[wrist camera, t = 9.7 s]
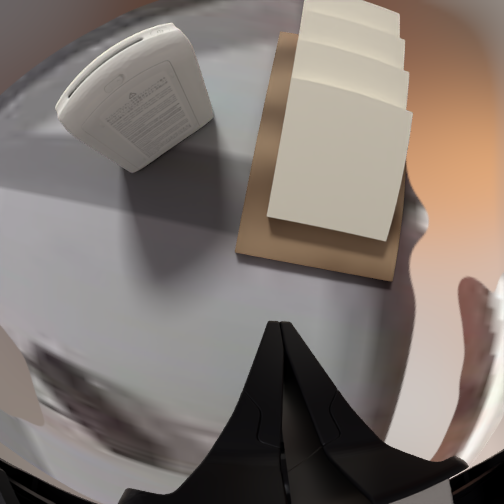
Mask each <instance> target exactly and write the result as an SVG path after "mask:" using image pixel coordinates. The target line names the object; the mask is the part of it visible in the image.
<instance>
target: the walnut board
mask: <svg viewBox="0 0 504 504" xmlns="http://www.w3.org/2000/svg"><path fill="white" fill-rule="evenodd" d="M298 37H299V35H298V34H292V33H286V32H280V35H279V40H278V44H277V49H276V53H275V58H274V62H273V67H272V71H271V76H270V80H269V85H268V89H267V94H266V99H265V103H264V108H263V113H262V118H261V122H260V127H259V132H258V137H257V142H256V146H255V151H254V156H253V161H252V166H251V171H250V176H249V181H248V186H247V191H246V196H245V202H244V207H243V212H242V217H241V222H240V227H239V233H238V238H237V243H236V249H235V253H241V254H246V255H251V256H257V257H262V258H267V259H273V260H278V261H283V262H289V263H294V264H299V265H305V266H310V267H316V268H321V269H326V270H332V271H337V272H343V273H348V274H353V275H359V276H364V277H370V278H375V279H381V280H386V281H391V282H392V280H393V275H394V269H395V264H396V258H397V251H398V245H399V238H400V230H401V222H402V213H403V202H404V190H405V173H406V161H405V166H404V171H403V176H402V181H401V185H400V190H399V194H398V198H397V203H396V207H395V211H394V214H393V218H392V222H391V226H390V229H389V233H388V236H387V240H386V241H382V240H377V239H373V238H369V237H364V236H360V235H355V234H351V233H346V232H341V231H337V230H332V229H327V228H322V227H318V226H313V225H308V224H303V223H298V222H293V221H288V220H282V219H277V218H272V217H267V211H268V206H269V201H270V195H271V190H272V184H273V179H274V173H275V167H276V162H277V156H278V151H279V145H280V140H281V134H282V128H283V123H284V117H285V111H286V105H287V100H288V94H289V88H290V82H291V77H292V71H293V66H294V60H295V54H296V48H297V42H298Z"/></svg>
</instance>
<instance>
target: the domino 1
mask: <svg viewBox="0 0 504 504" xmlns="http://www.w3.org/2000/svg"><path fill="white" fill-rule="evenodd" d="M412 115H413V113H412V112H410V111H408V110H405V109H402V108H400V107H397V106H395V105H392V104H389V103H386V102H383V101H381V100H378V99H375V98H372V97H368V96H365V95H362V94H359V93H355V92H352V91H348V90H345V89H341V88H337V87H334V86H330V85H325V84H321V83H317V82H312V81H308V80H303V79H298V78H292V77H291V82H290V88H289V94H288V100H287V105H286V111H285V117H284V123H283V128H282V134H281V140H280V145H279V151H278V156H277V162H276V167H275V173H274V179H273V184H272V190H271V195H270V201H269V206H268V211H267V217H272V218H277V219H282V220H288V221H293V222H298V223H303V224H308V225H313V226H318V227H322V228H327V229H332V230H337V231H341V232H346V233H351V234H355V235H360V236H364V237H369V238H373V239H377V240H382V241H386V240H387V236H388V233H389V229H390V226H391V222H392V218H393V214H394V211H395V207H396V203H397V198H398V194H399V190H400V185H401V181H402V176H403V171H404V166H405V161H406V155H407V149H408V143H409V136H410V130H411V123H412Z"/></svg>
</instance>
